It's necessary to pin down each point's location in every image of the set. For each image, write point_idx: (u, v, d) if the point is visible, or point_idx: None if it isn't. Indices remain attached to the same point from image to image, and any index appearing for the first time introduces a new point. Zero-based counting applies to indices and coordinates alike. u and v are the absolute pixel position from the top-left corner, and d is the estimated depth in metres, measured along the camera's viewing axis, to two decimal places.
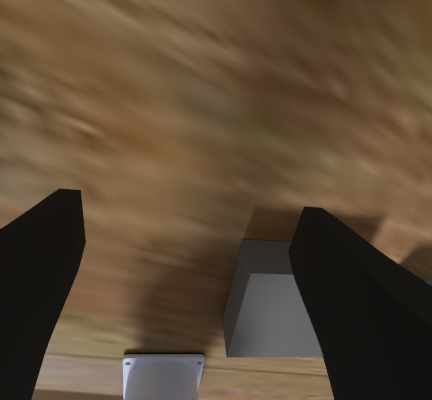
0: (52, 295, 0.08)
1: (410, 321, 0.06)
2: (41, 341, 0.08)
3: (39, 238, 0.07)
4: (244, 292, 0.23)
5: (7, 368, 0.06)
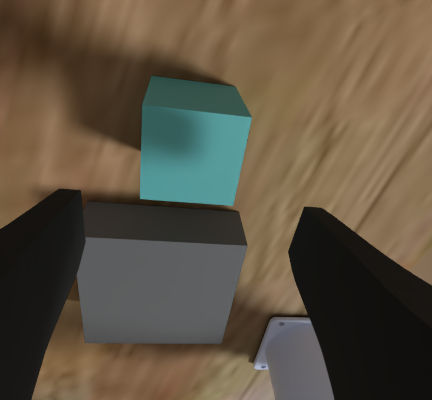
0: (52, 295, 0.08)
1: (410, 321, 0.06)
2: (41, 341, 0.08)
3: (39, 238, 0.07)
4: (116, 340, 0.24)
5: (7, 368, 0.06)
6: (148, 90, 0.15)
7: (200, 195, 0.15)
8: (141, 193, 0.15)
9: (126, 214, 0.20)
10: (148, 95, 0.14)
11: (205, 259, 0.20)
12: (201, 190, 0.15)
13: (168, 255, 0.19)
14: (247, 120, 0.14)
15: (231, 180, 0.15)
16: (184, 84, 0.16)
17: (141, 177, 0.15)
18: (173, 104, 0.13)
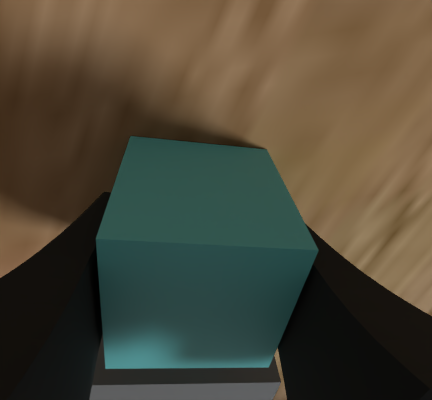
0: None
1: (347, 320, 0.06)
2: (96, 341, 0.08)
3: None
4: None
5: (78, 367, 0.06)
6: (117, 182, 0.08)
7: (213, 358, 0.09)
8: (107, 362, 0.08)
9: None
10: (115, 200, 0.07)
11: None
12: (215, 352, 0.09)
13: (160, 398, 0.13)
14: (309, 255, 0.07)
15: (269, 337, 0.08)
16: (184, 154, 0.10)
17: (105, 342, 0.08)
18: (162, 226, 0.07)
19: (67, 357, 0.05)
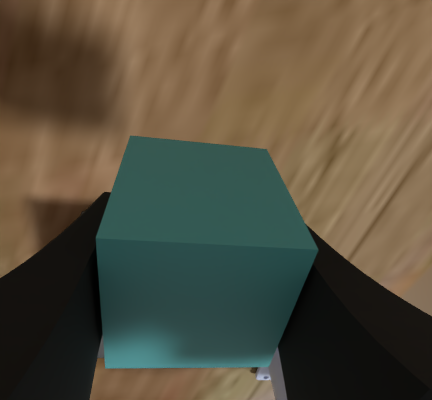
0: None
1: (347, 319, 0.06)
2: (96, 341, 0.08)
3: None
4: None
5: (78, 367, 0.06)
6: (117, 181, 0.08)
7: (213, 358, 0.09)
8: (107, 361, 0.08)
9: None
10: (115, 199, 0.07)
11: None
12: (215, 352, 0.09)
13: None
14: (309, 254, 0.07)
15: (269, 337, 0.08)
16: (184, 154, 0.10)
17: (105, 342, 0.08)
18: (161, 226, 0.07)
19: (67, 357, 0.05)
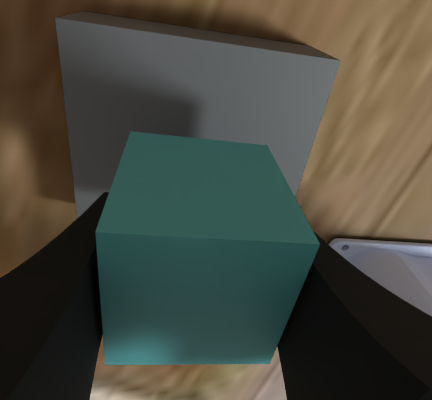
0: None
1: (346, 320, 0.06)
2: (96, 341, 0.08)
3: None
4: None
5: (78, 367, 0.06)
6: (117, 176, 0.08)
7: (213, 354, 0.09)
8: (107, 358, 0.08)
9: (144, 23, 0.13)
10: (115, 194, 0.07)
11: (270, 88, 0.12)
12: (215, 348, 0.09)
13: (213, 74, 0.12)
14: (310, 249, 0.07)
15: (270, 333, 0.08)
16: (184, 150, 0.10)
17: (105, 338, 0.08)
18: (161, 220, 0.07)
19: (67, 357, 0.05)
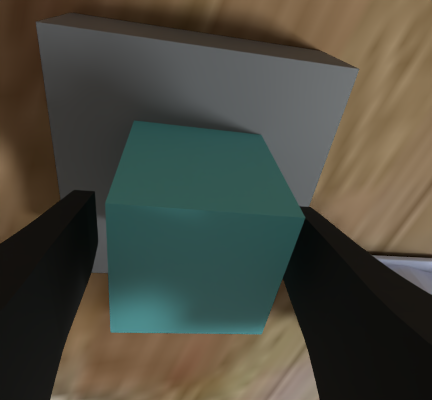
0: (69, 295, 0.08)
1: (390, 320, 0.06)
2: (59, 341, 0.08)
3: (59, 239, 0.07)
4: None
5: (30, 368, 0.06)
6: (123, 158, 0.09)
7: (210, 324, 0.09)
8: (112, 325, 0.09)
9: (138, 26, 0.11)
10: (121, 173, 0.08)
11: (280, 99, 0.11)
12: (211, 318, 0.09)
13: (216, 84, 0.11)
14: (297, 222, 0.08)
15: (261, 303, 0.09)
16: (184, 137, 0.10)
17: (111, 305, 0.09)
18: (164, 195, 0.07)
19: (10, 357, 0.05)
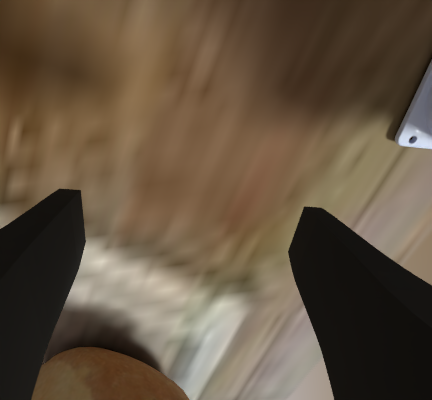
0: (52, 295, 0.08)
1: (410, 321, 0.06)
2: (41, 341, 0.08)
3: (39, 238, 0.07)
4: None
5: (7, 368, 0.06)
6: None
7: None
8: None
9: None
10: None
11: None
12: None
13: None
14: None
15: None
16: None
17: None
18: None
19: None
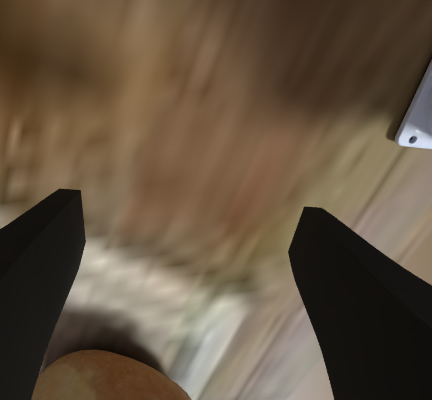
0: (52, 295, 0.08)
1: (410, 321, 0.06)
2: (41, 341, 0.08)
3: (39, 238, 0.07)
4: None
5: (7, 368, 0.06)
6: None
7: None
8: None
9: None
10: None
11: None
12: None
13: None
14: None
15: None
16: None
17: None
18: None
19: None
